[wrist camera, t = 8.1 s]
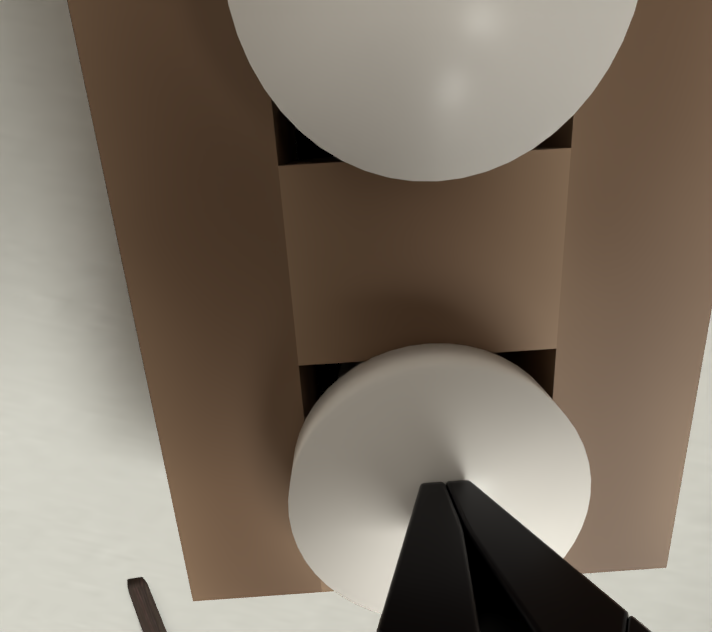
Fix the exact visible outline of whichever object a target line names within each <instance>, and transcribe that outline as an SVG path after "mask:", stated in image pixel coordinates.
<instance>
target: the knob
mask: <svg viewBox="0 0 712 632" xmlns="http://www.w3.org/2000/svg"><path fill="white" fill-rule="evenodd" d="M458 480H469V481H471V482H472V483H473V484H475V485H476V486H477V487H478V488H479V489H481V490H482V491H483V492H484V493H485V494H487V495H488V496H489V497H490V498H491V499H493V500H494V501H495V502H496V503H497V504H499V505H500V506H501V507H502V508H503V509H505V510H506V511H507V512H508V513H509V514H511V515H512V516H513V517H514V518H515V519H517V520H518V521H519V522H520V523H521V524H523V525H524V526H525V527H526V528H527V529H529V530H530V531H531V532H532V533H533V534H535V535H536V536H537V537H538V538H539V539H541V540H542V541H543V542H544V543H545V544H547V545H548V546H549V547H550V548H551V549H553V550H554V551H555V552H556V553H557V554H559V555H560V556H561V557H562V558H564V557H565V556H566V554H567V553H568V551H569V550H570V548H571V547H572V545H573V544H574V542H575V540H576V538H577V536H578V534H579V532H580V530H581V528H582V526H583V523H584V520H585V517H586V514H587V511H588V506H589V501H590V495H591V475H590V467H589V461H588V458H587V454H586V451H585V448H584V445H583V443H582V441H581V439H580V437H579V435H578V433H577V431H576V429H575V428H574V426H573V425H572V424H571V422H570V421H569V419H568V418H567V416H566V415H565V414H564V413H563V412H562V410H561V409H560V408H559V407H558V406H557V404H556V403H555V402H554V401H553V400H552V398H551V397H550V396H549V395H548V394H547V393H546V391H545V390H544V389H543V388H542V387H541V386H540V385H539V384H538V383H537V382H536V381H535V380H534V378H533V377H532V376H530V375H529V374H528V373H526V372H525V371H524V370H523V369H521V368H520V367H519V366H517V365H516V364H514V363H512V362H510V361H508V360H507V359H505V358H503V357H501V356H498V355H496V354H493V353H491V352H488V351H486V350H482V349H478V348H474V347H470V346H465V345H457V344H449V343H429V344H421V345H413V346H407V347H403V348H399V349H395V350H391V351H388V352H386V353H383V354H380V355H378V356H375V357H373V358H371V359H369V360H367V361H360V362H345V363H342V364H341V366H340V370H339V373H338V378H337V381H336V382H334V383H333V384H332V385H331V386H330V387H329V388H328V389H327V390H326V391H325V392H324V393H323V395H322V396H321V397H320V398H319V399H318V401H317V402H316V403H315V404H314V406H313V408H312V409H311V411H310V412H309V414H308V416H307V417H306V419H305V421H304V424H303V426H302V428H301V430H300V433H299V436H298V440H297V443H296V447H295V452H294V459H293V466H292V473H291V480H290V488H289V496H288V509H289V520H290V524H291V529H292V533H293V536H294V539H295V541H296V544H297V547H298V549H299V550H300V552H301V554H302V556H303V558H304V559H305V561H306V563H307V564H308V565H309V566H310V568H311V569H312V570H313V572H314V573H315V574H316V575H317V576H318V577H319V578H320V579H321V580H322V581H323V582H324V583H325V584H326V585H327V586H328V587H330V588H331V589H332V590H334V591H335V592H336V593H338V594H339V595H340V596H342V597H344V598H346V599H347V600H349V601H351V602H353V603H354V604H356V605H359V606H361V607H363V608H366V609H368V610H370V611H374V612H377V613H380V614H382V611H383V608H384V605H385V601H386V598H387V595H388V591H389V588H390V584H391V581H392V578H393V574H394V571H395V568H396V564H397V561H398V558H399V554H400V551H401V548H402V544H403V541H404V537H405V534H406V531H407V527H408V524H409V521H410V517H411V514H412V511H413V507H414V504H415V500H416V497H417V494H418V490H419V487H420V485H421V484H422V483H428V482H443V483H444V484H446V483H447V482H448V481H458Z"/></svg>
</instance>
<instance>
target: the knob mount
mask: <svg viewBox="0 0 712 632" xmlns="http://www.w3.org/2000/svg"><path fill="white" fill-rule="evenodd" d="M67 2H68V7H69V11H70V16H71V21H72V26H73V30H74V35H75V40H76V45H77V49H78V54H79V59H80V64H81V69H82V73H83V78H84V83H85V88H86V92H87V97H88V102H89V107H90V111H91V116H92V121H93V126H94V131H95V135H96V140H97V145H98V150H99V154H100V159H101V164H102V169H103V174H104V178H105V183H106V188H107V193H108V197H109V202H110V207H111V212H112V216H113V221H114V226H115V231H116V236H117V240H118V245H119V250H120V255H121V259H122V264H123V269H124V274H125V278H126V283H127V288H128V293H129V298H130V302H131V307H132V312H133V317H134V321H135V326H136V331H137V336H138V340H139V345H140V350H141V355H142V360H143V364H144V369H145V374H146V379H147V383H148V388H149V393H150V398H151V403H152V407H153V412H154V417H155V422H156V426H157V431H158V436H159V441H160V445H161V450H162V455H163V460H164V465H165V469H166V474H167V479H168V484H169V488H170V493H171V498H172V503H173V507H174V512H175V517H176V522H177V527H178V531H179V536H180V541H181V546H182V550H183V555H184V560H185V565H186V570H187V574H188V579H189V584H190V589H191V593H192V598H193V601H202V600H216V599H230V598H244V597H258V596H272V595H286V594H300V593H314V592H328V591H334V590H332V589H331V588H330V587H328V586H327V585H326V584H325V583H324V582H323V581H322V580H321V579H320V578H319V577H318V576H317V575H316V574H315V573H314V572H313V570H312V569H311V568H310V566H309V565H308V564H307V563H306V561H305V559H304V558H303V556H302V554H301V552H300V550H299V549H298V547H297V544H296V541H295V539H294V536H293V533H292V529H291V524H290V520H289V509H288V496H289V488H290V480H291V473H292V466H293V459H294V452H295V447H296V443H297V440H298V436H299V433H300V430H301V428H302V426H303V424H304V421H305V419H306V417H307V416H308V414H309V412H310V411H311V409H312V408H313V406H314V404H315V403H316V402H317V401H318V399H319V387H318V376H317V365H316V364H330V363H345V362H360V361H367V360H369V359H371V358H373V357H375V356H378V355H380V354H383V353H386V352H388V351H391V350H395V349H399V348H403V347H407V346H413V345H421V344H429V343H449V344H457V345H465V346H470V347H474V348H478V349H482V350H486V351H488V352H491V353H493V354H496V355H498V356H501V357H503V358H505V359H507V360H508V361H510V362H512V363H514V364H516V365H517V366H519V367H520V368H521V369H523V370H524V371H525V372H526V373H528V374H529V375H530V376H532V377H533V378H534V380H535V381H536V382H537V383H538V384H539V385H540V386H541V387H542V388H543V389H544V390H545V391H546V393H547V394H548V395H549V396H550V397H551V398H552V400H553V401H554V402H555V403H556V404H557V406H558V407H559V408H560V409H561V410H562V412H563V413H564V414H565V415H566V416H567V418H568V419H569V421H570V422H571V424H572V425H573V426H574V428H575V429H576V431H577V433H578V435H579V437H580V439H581V441H582V443H583V445H584V448H585V451H586V454H587V458H588V461H589V467H590V475H591V495H590V501H589V506H588V511H587V514H586V517H585V520H584V523H583V526H582V528H581V530H580V532H579V534H578V536H577V538H576V540H575V542H574V544H573V545H572V547H571V548H570V550H569V551H568V553H567V554H566V556H565V557H564V558H563V559H565V560H566V561H567V562H568V563H569V564H571V565H572V566H573V567H574V568H575V569H577V570H578V571H579V572H580V573H581V574H582V573H596V572H610V571H624V570H639V569H653V568H666V566H667V561H668V555H669V549H670V544H671V538H672V532H673V526H674V521H675V515H676V509H677V504H678V498H679V492H680V487H681V481H682V475H683V469H684V464H685V458H686V452H687V447H688V441H689V435H690V429H691V424H692V418H693V412H694V407H695V401H696V395H697V389H698V384H699V378H700V372H701V367H702V361H703V355H704V349H705V344H706V338H707V332H708V327H709V321H710V315H711V309H712V0H638V1H637V5H636V8H635V12H634V15H633V17H632V20H631V22H630V25H629V27H628V30H627V32H626V35H625V37H624V40H623V42H622V44H621V46H620V48H619V50H618V52H617V54H616V56H615V58H614V59H613V61H612V63H611V65H610V67H609V69H608V70H607V72H606V73H605V75H604V76H603V78H602V79H601V81H600V82H599V84H598V85H597V87H596V88H595V90H594V91H593V93H592V94H591V95H590V96H589V97H588V99H587V100H586V101H585V102H584V103H583V104H582V106H581V107H580V108H579V109H578V110H577V112H576V113H575V114H574V115H573V116H572V117H571V118H570V119H569V120H568V121H567V122H565V123H564V124H563V125H562V126H561V127H560V128H559V129H558V130H557V131H556V132H555V133H554V134H552V135H551V136H550V137H548V138H547V139H546V140H544V141H543V142H542V143H540V144H539V145H538V146H536V147H535V148H533V149H532V150H530V151H528V152H527V153H525V154H523V155H521V156H520V157H518V158H516V159H514V160H513V161H511V162H509V163H506V164H504V165H501V166H499V167H497V168H494V169H492V170H489V171H487V172H483V173H480V174H476V175H472V176H469V177H465V178H460V179H452V180H444V181H408V180H401V179H394V178H388V177H385V176H381V175H378V174H374V173H371V172H367V171H364V170H362V169H360V168H357V167H355V166H353V165H351V164H348V163H346V162H344V161H342V160H340V159H338V158H337V157H328V158H311V159H298V155H297V144H296V133H295V125H294V124H293V123H292V122H291V121H290V120H289V119H288V118H287V117H286V116H285V115H284V114H283V113H282V112H281V111H280V109H279V108H278V107H277V105H276V104H275V103H274V101H273V100H272V99H271V97H270V96H269V95H268V93H267V92H266V91H265V89H264V88H263V86H262V84H261V82H260V81H259V79H258V77H257V76H256V74H255V72H254V70H253V69H252V67H251V65H250V63H249V61H248V59H247V56H246V54H245V52H244V49H243V47H242V45H241V42H240V40H239V38H238V35H237V32H236V29H235V25H234V22H233V18H232V15H231V12H230V8H229V5H228V0H67Z"/></svg>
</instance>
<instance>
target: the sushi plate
mask: <svg viewBox="0 0 712 632" xmlns="http://www.w3.org/2000/svg"><path fill="white" fill-rule="evenodd" d="M128 589H129V593H130V596H131V599H132V602H133V605H134V608H135V610H136V613H137V616H138V619H139V622H140V624H141V627H142V630H143V632H166V629H165V627H164V624H163V622H162V619H161V616H160V614H159V611H158V609H157V607H156V604H155V602H154V599H153V597H152V594H151V592H150V589H149V587H148V584H147V583H146V581H145V580H144V579H143V577H141V578H135V579H129V580H128Z"/></svg>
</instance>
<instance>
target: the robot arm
mask: <svg viewBox="0 0 712 632" xmlns="http://www.w3.org/2000/svg"><path fill="white" fill-rule="evenodd" d="M377 632H651V631H650V630H649V629H648V628H647V627H645V626H644V625H643V624H642V623H641V622H639V621H638V620H637V619H636V618H635V617H633V616H630V617H629V618H628V612H627V611H626V610H625V609H623V608H622V607H621V606H620V605H619V604H617V603H616V602H615V601H614V600H613V599H611V598H610V597H609V596H608V595H607V594H605V593H604V592H603V591H602V590H601V589H599V588H598V587H597V586H596V585H595V584H593V583H592V582H591V581H590V580H589V579H587V578H586V577H585V576H584V575H583V574H581V573H580V572H579V571H578V570H577V569H575V568H574V567H573V566H572V565H571V564H569V563H568V562H567V561H566V560H565V559H563V558H562V557H561V556H560V555H559V554H557V553H556V552H555V551H554V550H553V549H551V548H550V547H549V546H548V545H547V544H545V543H544V542H543V541H542V540H541V539H539V538H538V537H537V536H536V535H535V534H533V533H532V532H531V531H530V530H529V529H527V528H526V527H525V526H524V525H523V524H521V523H520V522H519V521H518V520H517V519H515V518H514V517H513V516H512V515H511V514H509V513H508V512H507V511H506V510H505V509H503V508H502V507H501V506H500V505H499V504H497V503H496V502H495V501H494V500H493V499H491V498H490V497H489V496H488V495H487V494H485V493H484V492H483V491H482V490H481V489H479V488H478V487H477V486H476V485H475V484H473V483H472V482H471V481H469V480H458V481H448V482H447V483H446V484H444V483H443V482H428V483H422V484H421V485H420V487H419V490H418V494H417V497H416V500H415V504H414V507H413V511H412V514H411V517H410V521H409V524H408V527H407V531H406V534H405V537H404V541H403V544H402V548H401V551H400V554H399V558H398V561H397V564H396V568H395V571H394V574H393V578H392V581H391V584H390V588H389V591H388V595H387V598H386V601H385V605H384V608H383V611H382V615H381V618H380V621H379V625H378V628H377Z"/></svg>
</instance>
